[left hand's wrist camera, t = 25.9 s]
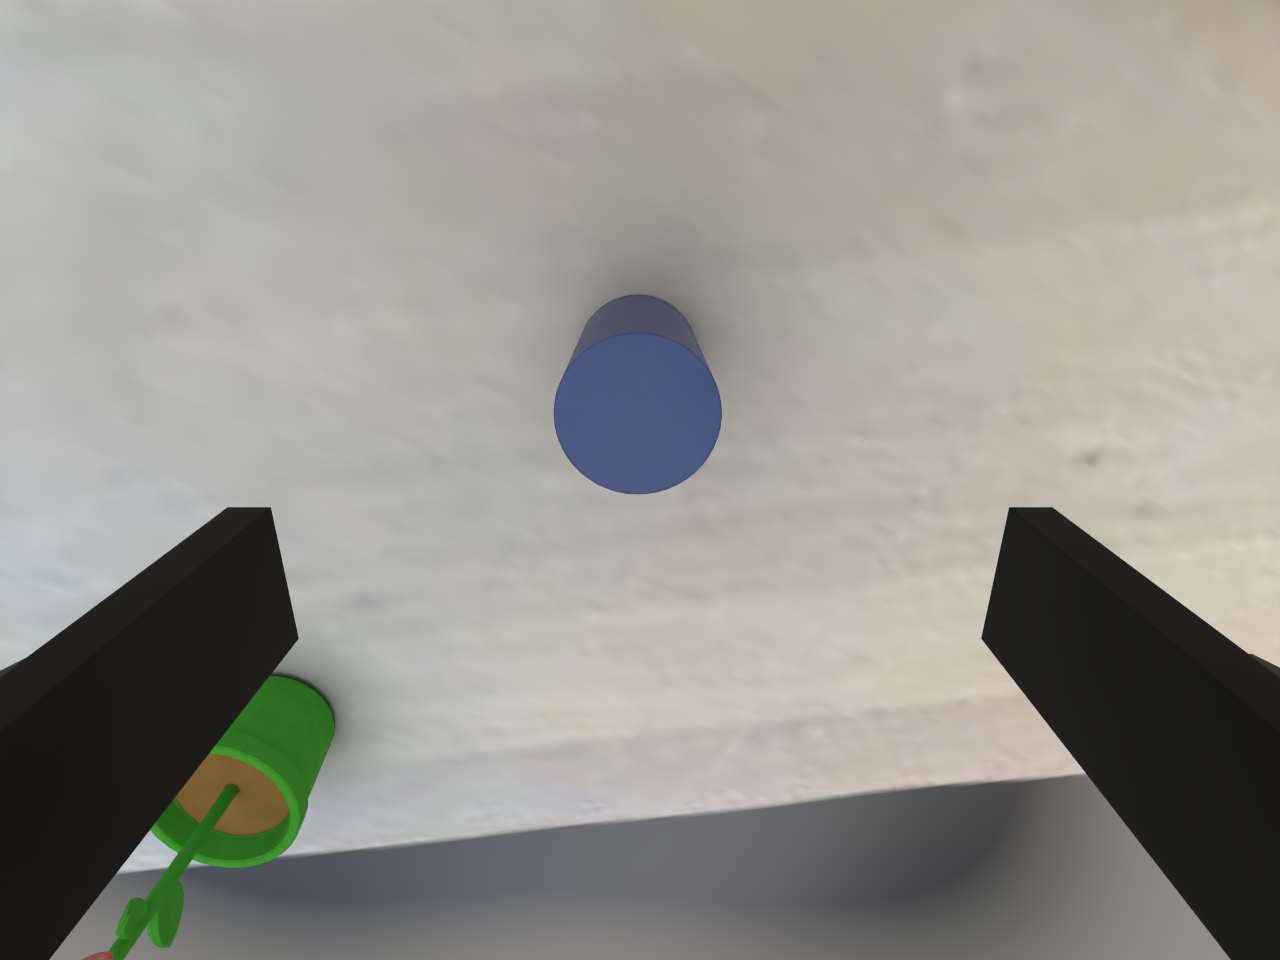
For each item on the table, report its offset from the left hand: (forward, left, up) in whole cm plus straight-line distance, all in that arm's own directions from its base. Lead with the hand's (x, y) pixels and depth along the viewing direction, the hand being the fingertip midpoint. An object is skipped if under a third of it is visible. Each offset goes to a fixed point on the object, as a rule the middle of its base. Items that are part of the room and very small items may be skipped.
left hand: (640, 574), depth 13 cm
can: (0, 0, -22) cm, 22 cm away
